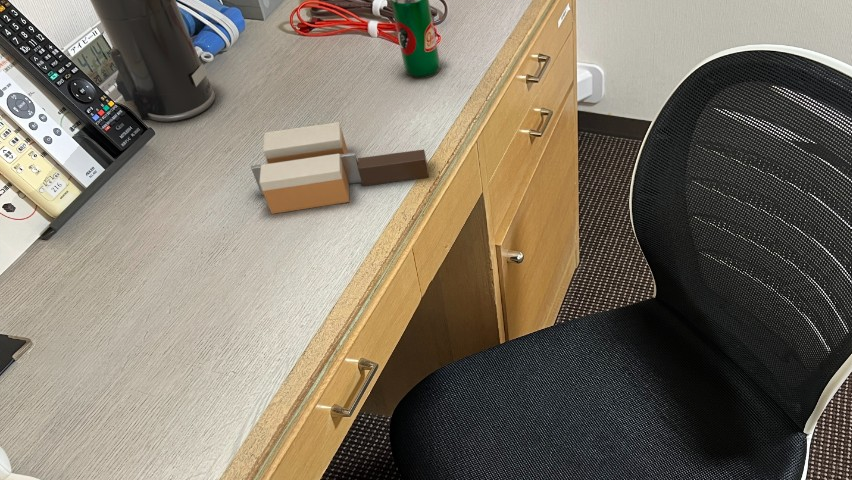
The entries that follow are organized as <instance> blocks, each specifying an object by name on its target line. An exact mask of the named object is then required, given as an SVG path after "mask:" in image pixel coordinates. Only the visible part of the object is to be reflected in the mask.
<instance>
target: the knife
mask: <svg viewBox="0 0 852 480" xmlns="http://www.w3.org/2000/svg"><path fill="white" fill-rule="evenodd" d="M340 157H341V160H342V164H343V167H344V170H345V173H346V177H347V180H348V183H349V185H350V184H357V183H361V184H362V187H366V186H374V185H381V184H387V183H396V182H402V181H410V180H417V179H424V178H430V175H429V164H428V161H427V156H426V152H425V149H417V150H416V149H415V150H410V151H409V150H408V151H402V152H395V153H387V154H378V155H370V156H363V157H357V154H356V152H355V151H354V152H348V153H346V154H340ZM264 164H265V163H263V164H255V165H251V166H250V169H251V172H252V174H253V177H254V179H255V182H256V185H257V187H258V189H259V192H260V195H261V196H264V193H263V190H262V188H261V185H260V172H261V165H264ZM270 164H271V163H270Z"/></svg>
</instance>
